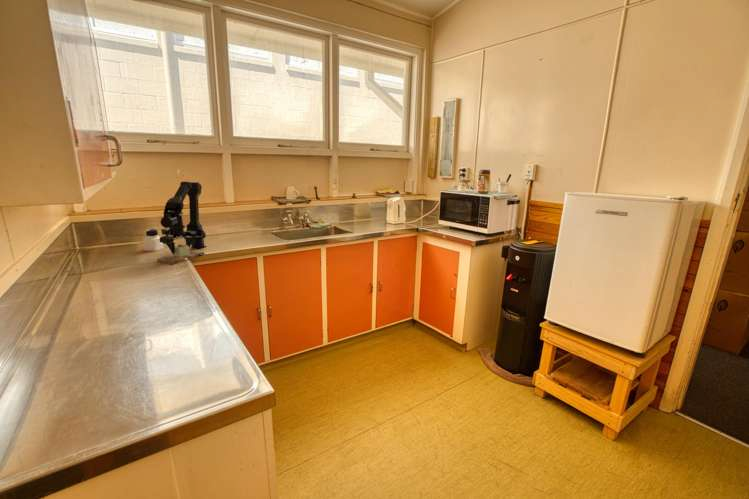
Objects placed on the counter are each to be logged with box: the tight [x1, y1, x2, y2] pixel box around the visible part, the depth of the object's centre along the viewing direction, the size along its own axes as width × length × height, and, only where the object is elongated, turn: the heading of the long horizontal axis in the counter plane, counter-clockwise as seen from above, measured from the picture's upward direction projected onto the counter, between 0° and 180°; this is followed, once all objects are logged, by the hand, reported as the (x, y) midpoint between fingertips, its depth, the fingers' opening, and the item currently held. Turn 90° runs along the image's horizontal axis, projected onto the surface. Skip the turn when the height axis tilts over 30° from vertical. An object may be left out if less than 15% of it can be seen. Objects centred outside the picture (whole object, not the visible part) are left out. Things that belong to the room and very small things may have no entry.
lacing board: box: [156, 243, 205, 265], centre depth 192 cm, size 20×12×8 cm, turn 157°
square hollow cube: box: [173, 244, 191, 257], centre depth 192 cm, size 6×6×5 cm
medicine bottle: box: [142, 228, 165, 252], centre depth 206 cm, size 7×7×12 cm
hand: (180, 251), depth 192 cm, fingers open, 9 cm apart
